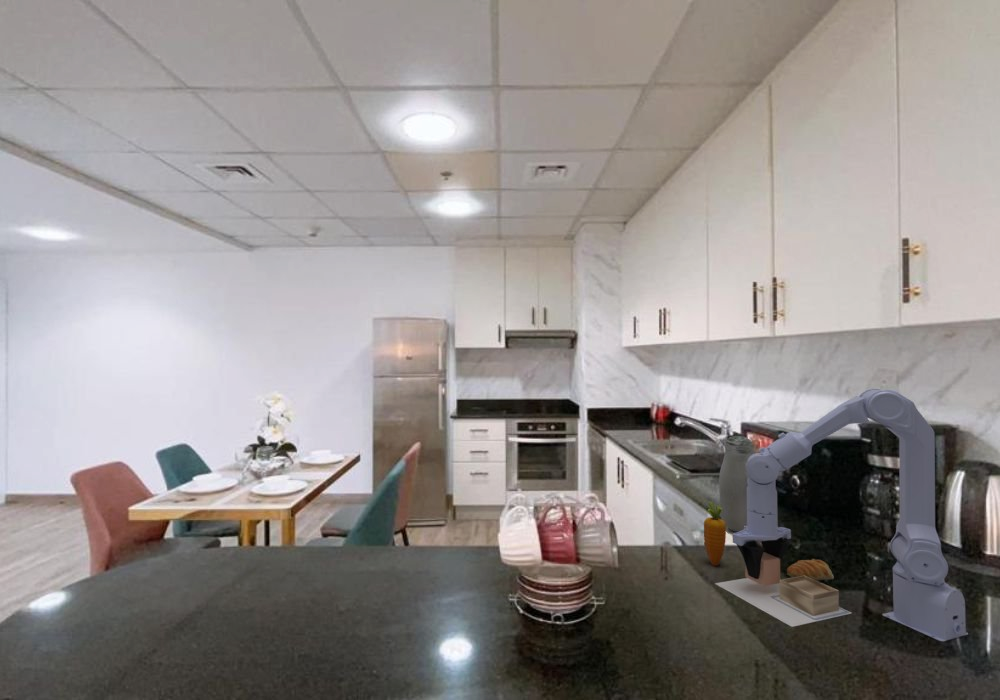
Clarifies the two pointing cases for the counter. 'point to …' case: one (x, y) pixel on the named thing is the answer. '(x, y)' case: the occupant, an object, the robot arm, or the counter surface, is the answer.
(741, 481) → the glass bottle
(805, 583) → the maple base block
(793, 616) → the board
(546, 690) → the counter surface
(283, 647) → the counter surface
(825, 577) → the pastry
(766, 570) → the terracotta block
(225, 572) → the counter surface
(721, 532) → the carrot
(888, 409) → the robot arm
